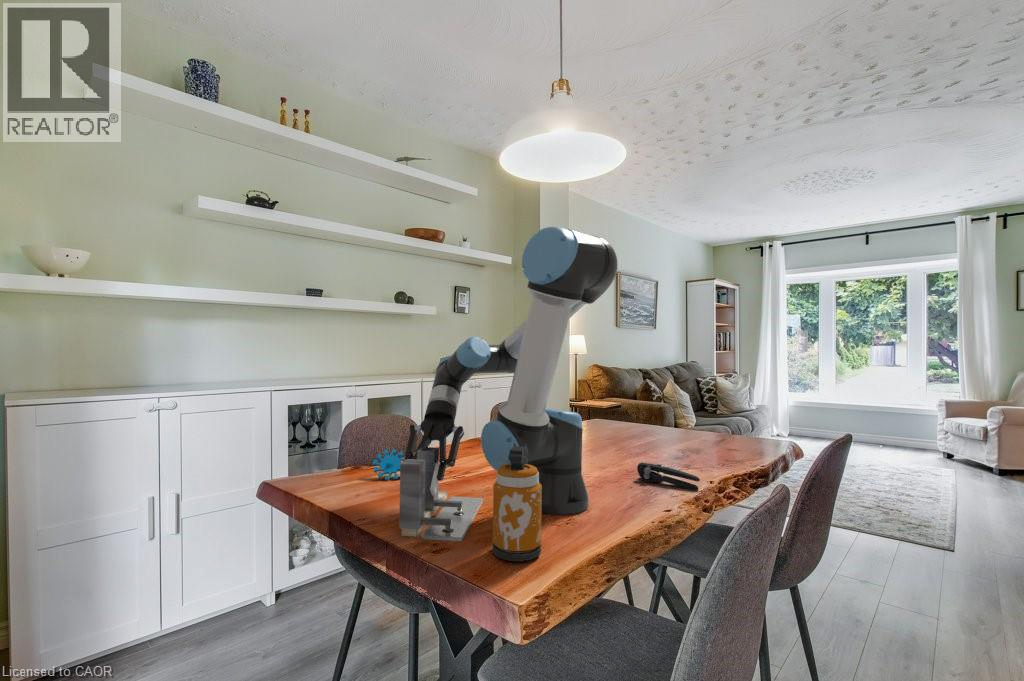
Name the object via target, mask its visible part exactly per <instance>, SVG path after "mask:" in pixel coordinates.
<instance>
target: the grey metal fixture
mask: <svg viewBox="0 0 1024 681" xmlns="http://www.w3.org/2000/svg"><path fill="white" fill-rule="evenodd" d="M401 462H402V463H400V471H399V517H398V518H399V522H398V523H399V524H398V525H399V526H398V527H399V529H401V537H412V536H413V538H414V537H415V538H416V537H418V535H419V534H420V532H422V530H423V529H424V528H425V526H429V525H443V526H445V529H447V530H448V529H450V525H451V519H445V518H435V517H433V516H434V515H435V513H436V512H437V510H438V509H439V508H440V506H436V507H435V509H434V510H430V509H425V460H418V459H406V460H405V461H401ZM447 498H448V491H447V490H438V500H443V501H446V500H447Z"/></svg>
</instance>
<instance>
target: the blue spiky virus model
mask: <svg viewBox="0 0 1024 681" xmlns="http://www.w3.org/2000/svg"><path fill="white" fill-rule="evenodd" d="M396 453H397V450H396V449H395V448H392V449H391V453H389V449H385V450H383V455H384V457H383V458H382V454H381V453H379V454H376V459H374V460H373V462H372V465H373V466H374V467H373V473H377V472H378V473H377V477H378V479H382V478H383V476H385V477H384V480H385V481H387V480H389V481H390V479H391V478H390V477H391V476H392V475H393V474H394V475H393V480H394V479H396V480H398V479H399V475H398V472H400V463H402V462H403V461H405V456H404V452H403V451H399V452H398V453H397V454H396ZM403 456H404V457H403ZM400 457H401V458H400ZM377 459H378V460H379V461H380V462H378V460H377Z"/></svg>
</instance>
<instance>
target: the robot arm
mask: <svg viewBox="0 0 1024 681" xmlns="http://www.w3.org/2000/svg"><path fill="white" fill-rule="evenodd" d="M521 257H522V258H521V267H522V268H523V270H522V272H523V275H524V276H525V278H526V279H527V280H528V283H527V286H526V287H527V288H526V289H527V290H528V292H529V293H530V296H531V301H530V305H529V311H528V314H527V317H525V319H524V320H523V321H522V322H521V323H520V324H518V326H517V327H516V329H514V330H513V331H512V332H511V333H510V334H508V336H507V337H506V338H505V339H504V340H503V341H502V342H501V343H500V344H488V343H487V342H486V340H484V339H482V338H480V337H478V336H471V337H468V338H467V339H466V340H465V341H464V342H463V343H461V344H460V345H459V346H458V347H457V348H456V350H455V351H454V352H453V353H452V355H447V356H444V357H441V359H440V360H439V363H438V365H437V367H436V369H435V370H436V371H435V376H434V378H433V384H432V386H431V392H430V395H429V398H428V402H427V406H426V409H425V413H424V418H423V420H422V422H421V423H420V424H419V425H414V424H410V425H409V438H408V440H407V441H408V442H407V446H406V450H405V454H404V457H405V460H406V459H417V450H419V449H420V448H422V447H430V445H431V443H432V442H433V441H438V444H439V446H438V448H439V463H436V465H435V470H434V474H433V478H432V483H431V487H430V491H431V494H432V496H436V492H437V487H438V488H439V485H438V482H439V481H441V482H442V481H443V480H444V478H445V473H446V469H447V468H449V467H451V468H454V467H455V465H456V460H457V456H458V453H459V452H458V451H459V447H460V444H461V440H462V439H463V437H464V436H465V430H464V427H463V426H461V425H460V426H456V425H455V422H456V421H455V419H456V415H457V411H458V405H459V401H460V398H461V396H460V395H461V393H462V388H463V385H464V384H465V383H466V382H468V380H469V379H470V378H472V377H473V376H474V375H476V374H500V373H501V374H503V373H507V374H513V375H512V381H511V385H510V388H509V393H508V398H507V400H506V401H505V402H503V403H501V404H500V405H499V406H498V410H497V414H496V417H495V419H492V420H490V421H489V422H487V423H485V425H484V426H483V428H482V430H481V434H480V443H481V444H480V445H481V449H482V453H483V454H484V458H485V460H486V462H487V463H488V465H489V466H490V467H491V468H492V469H493V470H495V471H496V472H497V471H498V468H499V467H500V466H502V465H505V464H511V463H510V460H509V461H507V462H505V463H502V464H499V462H500V461H502V460H504V459H506V458H508V455H509V454H510V449H512V448H513V446H514V443H515V445H516V446H519V447H525V443H526V445H527V449H528V465H532V466H534V467H536V468H537V470H538V472H539V483H540V484H541V485H542V504H541V514H542V513H543V514H548V515H573V514H574V515H576V514H580V513H582V512H584V511H586V510H588V509H589V503H590V502H589V500H590V499H589V497H590V496H589V493H588V490H587V487H586V482H585V481H584V476H583V473H582V472H583V470H582V467H583V466H582V465H583V464H582V463H583V461H582V460H583V431H584V429H583V420H582V416H581V415H580V414H579V413H578V412H575V411H570V410H562V409H561V410H560V409H552V408H547V404H548V400H549V396H550V392H551V389H552V385H553V381H554V377H555V374H556V369H557V366H558V362H559V358H560V355H561V354H560V353H561V350H562V347H563V342H564V338H565V335H566V331H567V327H568V324H569V323H568V322H569V320H570V319H571V318H572V317H573V316H574V315H575V314H576V313H577V312H578V311H579V310H581V309H582V308H583V307H584V306H585V305H591V304H593V303H595V302H596V300H598V299H599V298H600V297H602V295H604V293H605V292H606V291H607V290H608V289H610V288H609V287H610V286H611V285H612V283H613V282H614V280H615V277H616V275H617V273H618V272H617V271H618V256H617V253H616V252H615V250H614V247H613V246H612V245H611V243H609V242H608V241H607V240H606V239H604V238H602V237H601V236H595V235H591V234H586V233H584V232H579V231H576V230H573V229H570V228H567V227H558V226H547V227H543V228H541V229H540V230H538V232H536V233H534V234H533V235H532V236H531V237H530V239H528V241H527V243H526V245H525V246H524V250H523V253H522V256H521ZM421 431H422V432H423V435H422V439H421V440H420V442H419V444H418V447H417V448H416V446H417V443H418V436H420V433H421ZM452 433H453V436H452V440H451V445H450V449H449V451H448V452H449V453H448V457H447V437H449V436H450V435H451V434H452ZM526 457H527V454H526ZM507 460H508V459H507ZM505 461H506V460H505ZM503 462H504V461H503ZM525 464H526V462H525Z"/></svg>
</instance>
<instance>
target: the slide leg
mask: <svg viewBox="0 0 1024 681" xmlns="http://www.w3.org/2000/svg"><path fill="white" fill-rule="evenodd" d="M416 450H417V449H416ZM417 459H418V460H425V509H430V510H434V509H435V507H436V506H440V507H442V508H443V507H457V510H458V511H461V510H462V501H448V500H444V501H443V500H438V491H439V484H440V483H439V482H438V487H437V492H436V496H432V494H431V491H430V487H431V483H432V478H433V474H434V470H435V465H436V463H439V464H440V462H439V460H440V458H439V447H433V446H432V447H430V446H428V447H422V448H420V449H419V450H417ZM440 507H439V508H440Z"/></svg>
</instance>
